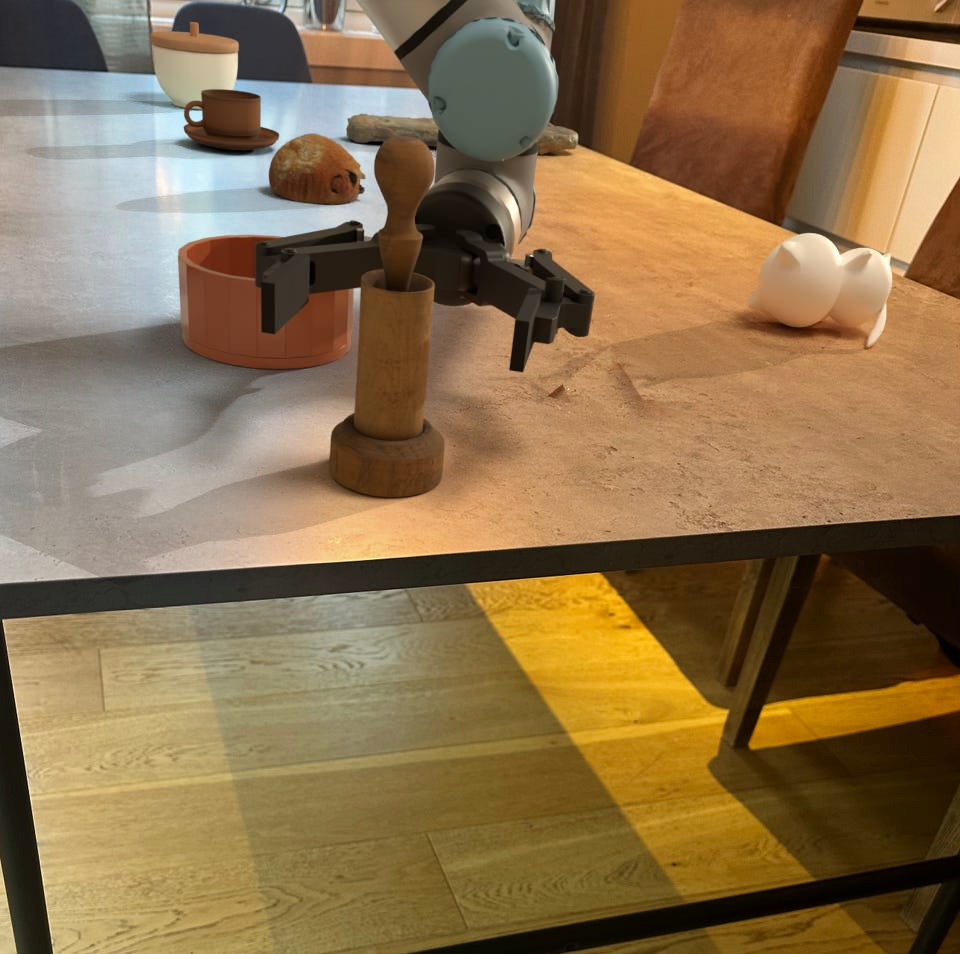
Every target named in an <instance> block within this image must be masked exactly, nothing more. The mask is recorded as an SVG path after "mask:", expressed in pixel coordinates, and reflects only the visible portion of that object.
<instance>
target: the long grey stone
mask: <svg viewBox="0 0 960 954" xmlns="http://www.w3.org/2000/svg"><path fill="white" fill-rule="evenodd" d="M345 129H346V130H345V131H346V136H347V138H348V139H349V140H351V141H354V142H355V143H358V144H361V143H362V144H366V143H369V142H382V143H384V142H385V141H387V140H388V139H390V138H393V137H398V136H406V137H412V138H417V139H419V140H421V141H422V142H423V143H424V144H426V146H427V147H433V148H435V147H436V148H437V141H438V130H439V128H438V126H437V125H436V123H435V121H434V120H433V117H418V118H417V117H415V118H413V117H412V118H411V117H405V116H404V117H402V116H401V117H400V116H393V115H385V116H384V115H376V114H375V115H374V114H368V113H359V114H354V115H352V116H351V117H347V126H346V128H345ZM538 141H539V144H538V154H537V155H539V156H543V155H544V154H548V153H549V152H558V151H559V152H563V151H566V150H568V151H570V150H576V148H577V146H578V144H579V134H578V133H577V131H574V130H573V129H571V128H567V127H564V126H558V125H554V124H552V123H551V122H549V123H548V125H547V127H546V129H545V130H544V132H543V133H542V135H541V136H540V137H539V139H538Z"/></svg>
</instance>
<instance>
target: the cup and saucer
mask: <svg viewBox="0 0 960 954" xmlns="http://www.w3.org/2000/svg"><path fill="white" fill-rule="evenodd" d="M201 98H202V101H191V102H189V103H188V104H187V105H186V107H185V108H184V110H183V115H184V120H185V122H186V124H184V125H183V131H184V133H185V134H186V135H187V136H188V138H190V139H191V140H192V141H194V142H196V143H199V144H201V145H204V146H208V147H210V148H211V147H212V148H216V149H220V150H227V151H254V150H255V151H257V150H262V149H265V148H269V147H271V146H273V145H275V144H276V143H277V141H279V139H280V133H279V132H277V131H276V130H273V129H271V128H268V127H265V126H264V127H263V126H261V125H262V124H261V117H262V115H261V110H262V109H261V108H262V105H261V103H262V99H261V98H262V97H261V95H260V94H256V93H253V92H249V91H243V90H236V89H233V90H225V89H209V90H203V91H201ZM195 106H197V107H200V108H202V110H201V116H202V119H200V120H198V121H194V120H193V119H192V118H191V116H190V111H191V110H192V109H191V108H192V107H195Z"/></svg>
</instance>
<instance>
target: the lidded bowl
mask: <svg viewBox="0 0 960 954" xmlns="http://www.w3.org/2000/svg"><path fill="white" fill-rule="evenodd" d="M149 42H150V44H151V56H152V62H153V64H152V65H153V70H154V73H155V77H156V80H157V82H158V84H159V86H160V88H161V90H162V91H163V92H164V94H165V95H166V96H167V97H168V99H170V100H171V102H172V105H173V106H176V107H179V108H184V109H185V107H186V105H187V104H188V103H189V102H191V101H202V98H201V91H203V90H209V89H225V90H235V86H236V82H237V77H238V68H239V54H238V53H239V51H240V50H239V49H240V48H239V47H240V45H239V41H237V40H236V39H233V38H230V37H225V36H221V35H214V34H209V33H207V34H206V33H200V29H199V23H198V22H196V21H195V22H193V21H190V22H189V32H187V31H154V32H151V33H150V35H149ZM190 110H200V111H202V108H200V107H197V106H195V107H192V108H191V109H190Z"/></svg>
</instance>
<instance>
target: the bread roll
mask: <svg viewBox="0 0 960 954" xmlns="http://www.w3.org/2000/svg"><path fill="white" fill-rule="evenodd" d="M361 166H362V165H361V163H360V162H358V161H357V160H356V159H355V158H354V156H353V155H352V154H350V153H349V152H348V151H347V150H346V149H345V148H344V147H343V146H342V145H341V144H340V143H338V142H337V141H334V140H332V139H330V138H329V137H327V136H325V135H321V134H318V133H315V132H312V133H305V134H302V135H299V136H297V137H294V138H292V139H290V140H289V141H287V142H285V143H284V144H283V145H281V146H280V147H279V149H278V150H277V151H275V153H274V155H273V157H272V158H271V161H270V164H269V169H268V184H269V187H270V189H271V190H272V192H273V193H274V195H276V196H278V197H280V198H284V199H287V200H291V201H293V202H301V203H302V202H303V203H309V204H319V205H343V204H347V203H351V202H353V201H356V200H357V199H358V198H359V195H363V194H364V193H365V189H366V188H365V187H364V186H362V184H361V180H366V178H367V177H366V174H365V173H363V172H362V170H361Z"/></svg>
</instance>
